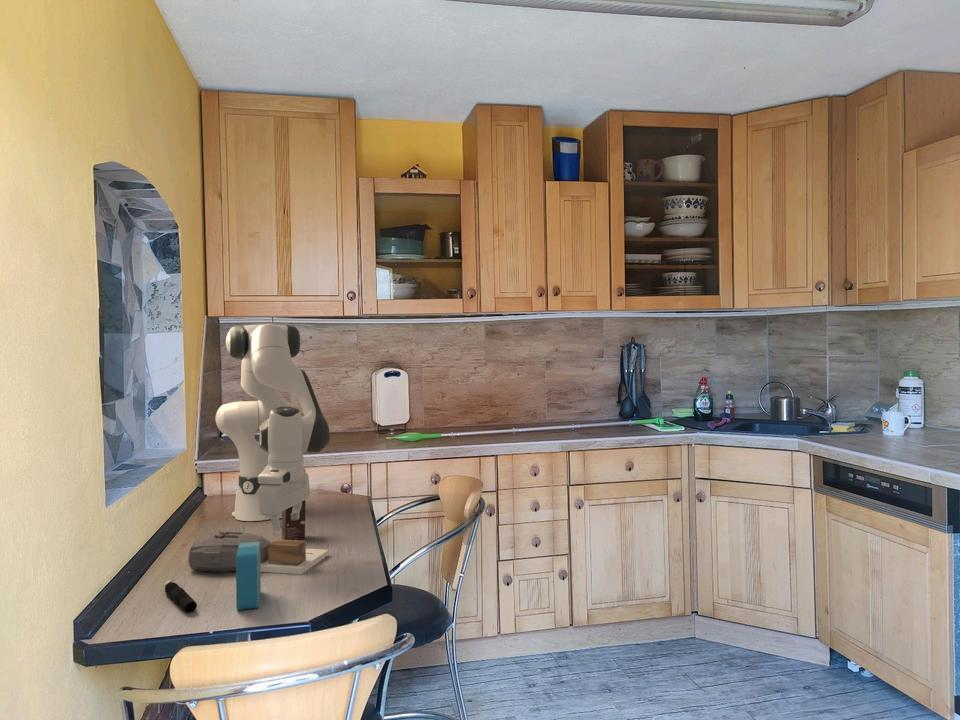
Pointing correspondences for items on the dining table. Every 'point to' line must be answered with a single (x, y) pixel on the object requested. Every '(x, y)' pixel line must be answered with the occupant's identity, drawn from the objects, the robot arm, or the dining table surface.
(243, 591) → the teal arch block
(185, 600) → the utility knife
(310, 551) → the board
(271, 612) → the dining table surface
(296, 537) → the box
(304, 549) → the block
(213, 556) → the grey rounded bag
